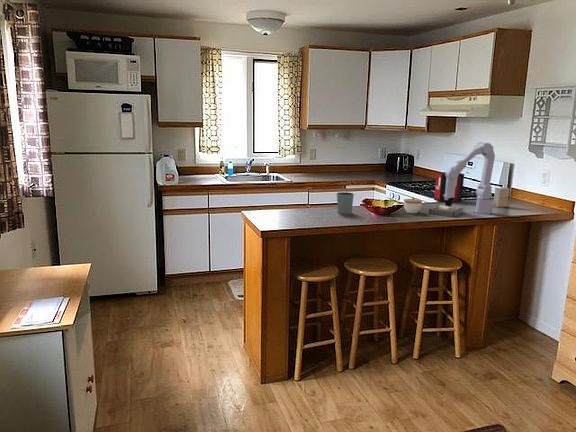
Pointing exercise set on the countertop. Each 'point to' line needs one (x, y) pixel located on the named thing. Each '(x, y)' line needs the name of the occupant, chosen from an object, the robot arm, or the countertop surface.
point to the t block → (446, 208)
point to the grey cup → (344, 202)
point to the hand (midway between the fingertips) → (448, 209)
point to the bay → (445, 213)
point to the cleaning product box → (441, 187)
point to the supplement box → (501, 197)
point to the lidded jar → (412, 205)
